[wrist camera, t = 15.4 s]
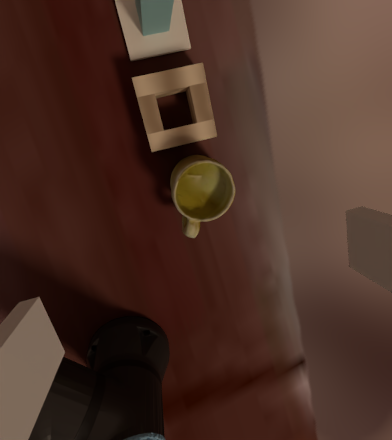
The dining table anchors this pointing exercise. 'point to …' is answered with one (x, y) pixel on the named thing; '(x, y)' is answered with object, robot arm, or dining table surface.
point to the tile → (152, 43)
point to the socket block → (168, 85)
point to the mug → (200, 191)
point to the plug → (154, 15)
